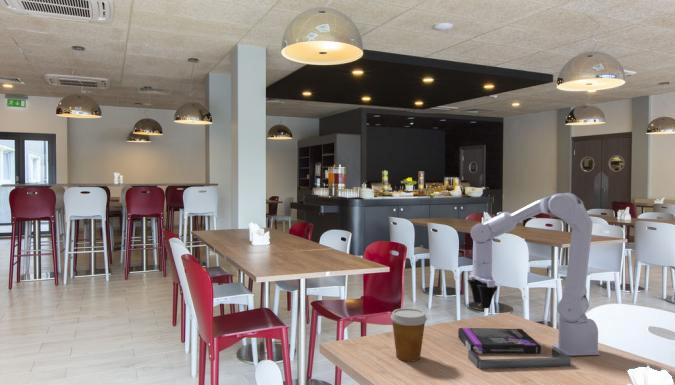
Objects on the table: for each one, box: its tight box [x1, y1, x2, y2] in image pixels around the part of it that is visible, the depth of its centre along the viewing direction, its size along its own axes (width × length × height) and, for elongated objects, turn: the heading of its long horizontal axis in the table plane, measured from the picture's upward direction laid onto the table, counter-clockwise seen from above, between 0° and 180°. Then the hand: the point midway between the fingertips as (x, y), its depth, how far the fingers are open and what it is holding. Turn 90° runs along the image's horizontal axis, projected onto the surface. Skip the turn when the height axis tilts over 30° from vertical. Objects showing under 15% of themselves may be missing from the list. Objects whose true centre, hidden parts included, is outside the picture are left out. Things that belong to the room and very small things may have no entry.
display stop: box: [467, 347, 572, 370], centre depth 125 cm, size 24×8×2 cm, turn 95°
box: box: [457, 327, 542, 355], centre depth 137 cm, size 14×4×20 cm
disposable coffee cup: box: [390, 307, 428, 362], centre depth 128 cm, size 10×10×12 cm
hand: (481, 305), depth 149 cm, fingers open, 6 cm apart
